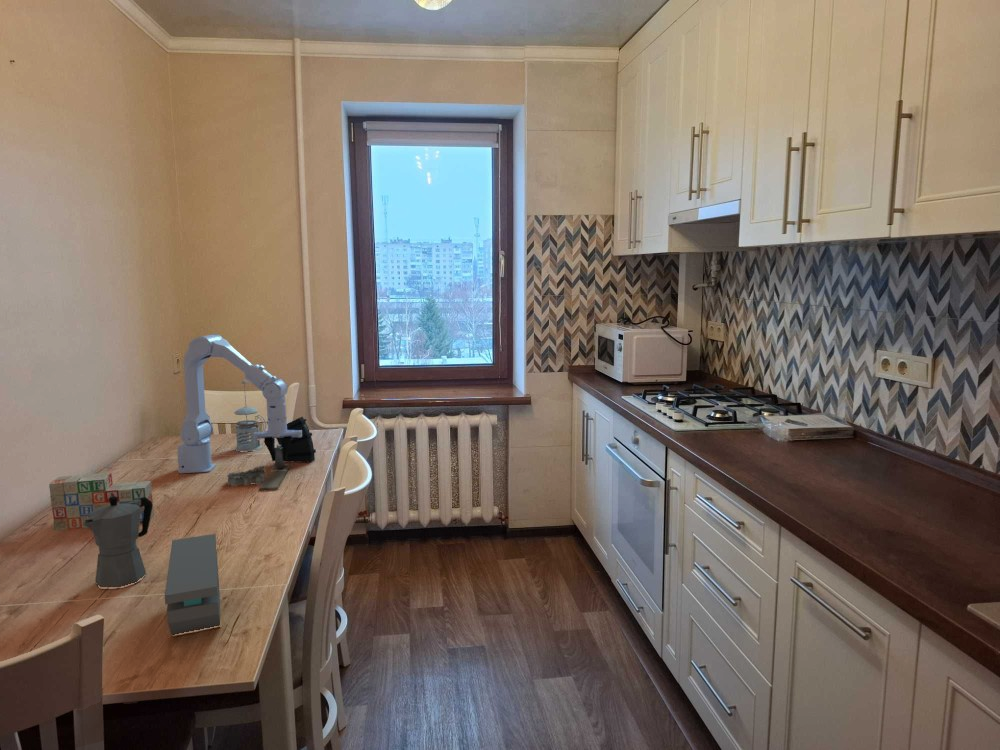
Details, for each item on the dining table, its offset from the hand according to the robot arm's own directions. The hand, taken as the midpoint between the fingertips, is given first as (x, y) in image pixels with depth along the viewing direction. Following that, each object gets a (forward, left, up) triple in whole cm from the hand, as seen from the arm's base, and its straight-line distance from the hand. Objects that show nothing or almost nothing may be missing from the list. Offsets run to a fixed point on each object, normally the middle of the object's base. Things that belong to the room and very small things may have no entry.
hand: (279, 459), depth 215 cm
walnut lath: (0, -8, -3) cm, 9 cm away
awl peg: (0, 0, -2) cm, 2 cm away
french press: (-15, +30, -4) cm, 34 cm away
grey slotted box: (0, -94, -4) cm, 94 cm away
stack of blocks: (-37, -39, -4) cm, 54 cm away
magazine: (+3, +11, -4) cm, 12 cm away
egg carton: (-8, -11, -4) cm, 14 cm away
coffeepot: (-19, -74, -4) cm, 76 cm away
